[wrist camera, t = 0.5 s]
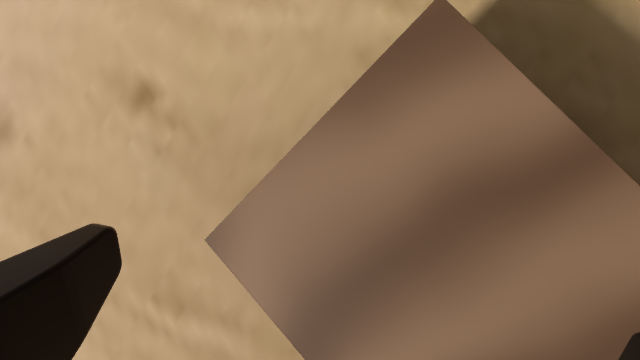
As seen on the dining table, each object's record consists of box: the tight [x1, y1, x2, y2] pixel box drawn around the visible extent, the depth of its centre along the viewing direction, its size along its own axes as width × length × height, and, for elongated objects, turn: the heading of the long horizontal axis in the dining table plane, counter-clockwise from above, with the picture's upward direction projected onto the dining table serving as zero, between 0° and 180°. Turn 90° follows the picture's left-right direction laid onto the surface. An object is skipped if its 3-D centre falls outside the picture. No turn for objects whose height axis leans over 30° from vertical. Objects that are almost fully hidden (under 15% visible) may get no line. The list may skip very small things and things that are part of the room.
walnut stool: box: [205, 0, 640, 360], centre depth 20 cm, size 13×13×4 cm
